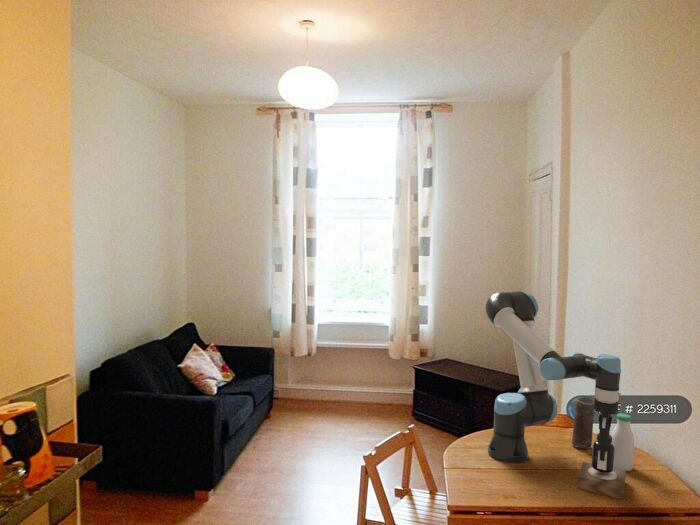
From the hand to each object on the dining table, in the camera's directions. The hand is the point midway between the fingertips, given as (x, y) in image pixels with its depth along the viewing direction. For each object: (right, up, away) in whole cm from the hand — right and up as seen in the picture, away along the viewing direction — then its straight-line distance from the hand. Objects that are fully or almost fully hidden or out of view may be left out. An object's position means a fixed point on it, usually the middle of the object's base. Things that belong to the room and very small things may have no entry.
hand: (602, 464), depth 183 cm
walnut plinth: (0, -7, 0) cm, 7 cm away
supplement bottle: (0, -2, 0) cm, 2 cm away
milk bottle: (+14, -7, +15) cm, 22 cm away
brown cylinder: (+7, -6, +33) cm, 34 cm away
